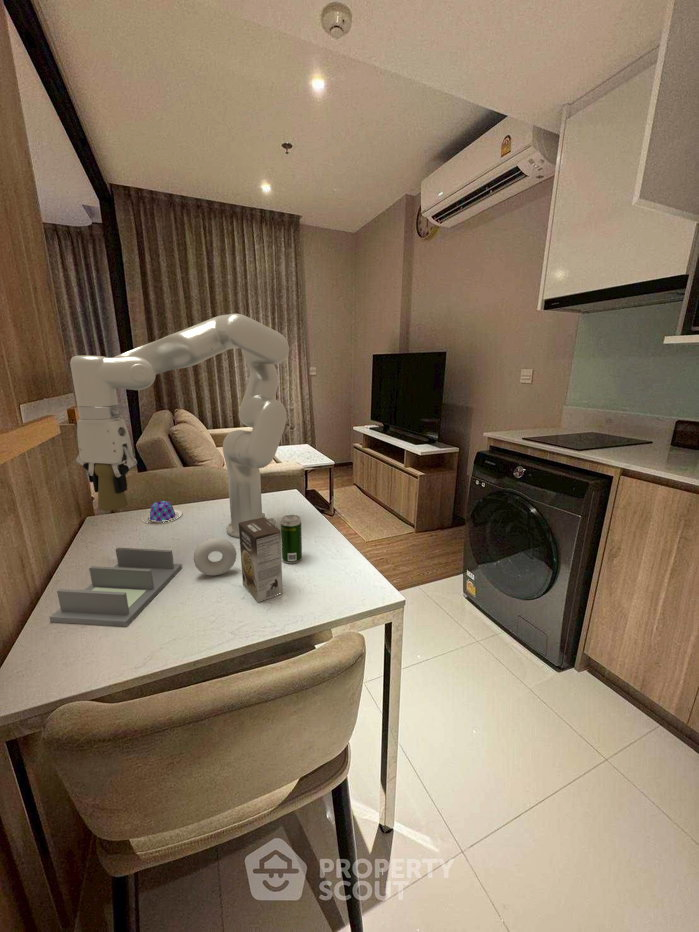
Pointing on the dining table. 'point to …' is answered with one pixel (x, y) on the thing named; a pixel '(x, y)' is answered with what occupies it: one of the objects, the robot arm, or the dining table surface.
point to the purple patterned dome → (163, 511)
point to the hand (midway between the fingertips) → (111, 490)
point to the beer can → (291, 539)
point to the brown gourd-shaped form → (108, 489)
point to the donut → (211, 546)
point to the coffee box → (261, 558)
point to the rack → (118, 589)
